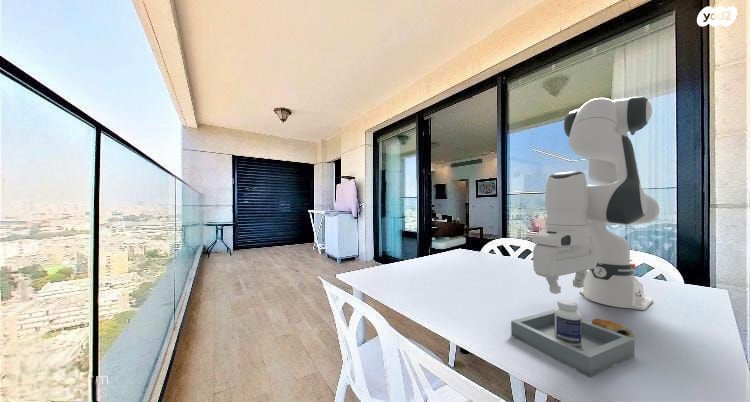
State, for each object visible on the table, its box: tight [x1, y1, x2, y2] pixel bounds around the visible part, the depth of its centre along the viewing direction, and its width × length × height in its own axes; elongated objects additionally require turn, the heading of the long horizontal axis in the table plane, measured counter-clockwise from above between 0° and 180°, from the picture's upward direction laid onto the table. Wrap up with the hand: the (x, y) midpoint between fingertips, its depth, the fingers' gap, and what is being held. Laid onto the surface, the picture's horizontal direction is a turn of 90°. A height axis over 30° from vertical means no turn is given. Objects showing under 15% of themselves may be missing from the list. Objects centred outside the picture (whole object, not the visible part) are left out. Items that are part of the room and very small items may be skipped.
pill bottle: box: [554, 299, 582, 346], centre depth 64 cm, size 5×5×10 cm
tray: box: [510, 309, 635, 378], centre depth 64 cm, size 18×18×4 cm
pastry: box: [590, 318, 635, 340], centre depth 70 cm, size 9×7×4 cm
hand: (567, 289), depth 65 cm, fingers open, 8 cm apart
